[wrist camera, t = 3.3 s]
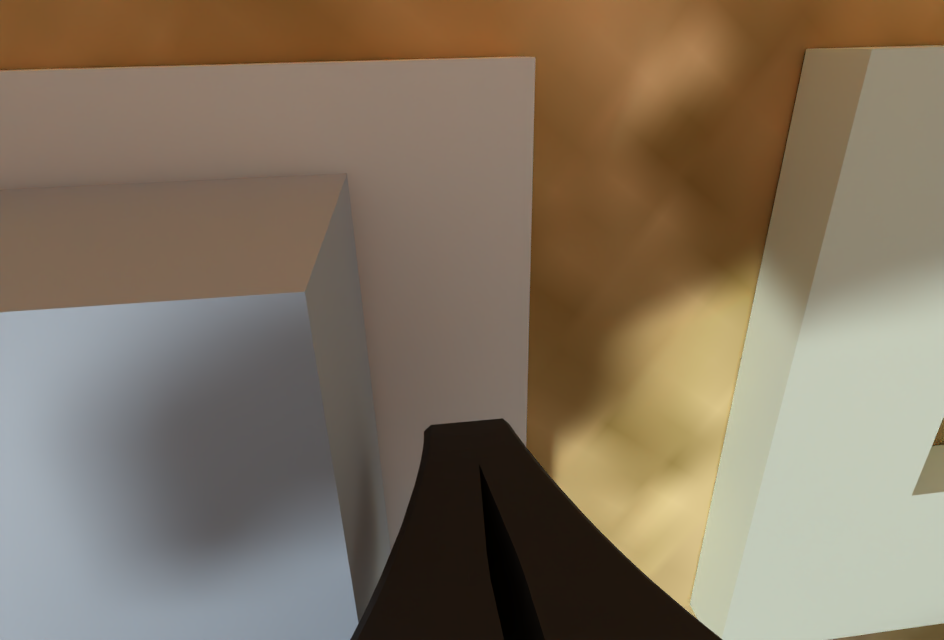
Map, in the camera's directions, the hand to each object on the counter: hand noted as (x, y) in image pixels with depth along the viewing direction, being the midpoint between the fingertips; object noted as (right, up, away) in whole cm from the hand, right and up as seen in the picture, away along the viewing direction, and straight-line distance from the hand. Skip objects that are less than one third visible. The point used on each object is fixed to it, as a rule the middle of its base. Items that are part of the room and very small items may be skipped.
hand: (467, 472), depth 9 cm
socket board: (+12, +1, +4) cm, 13 cm away
